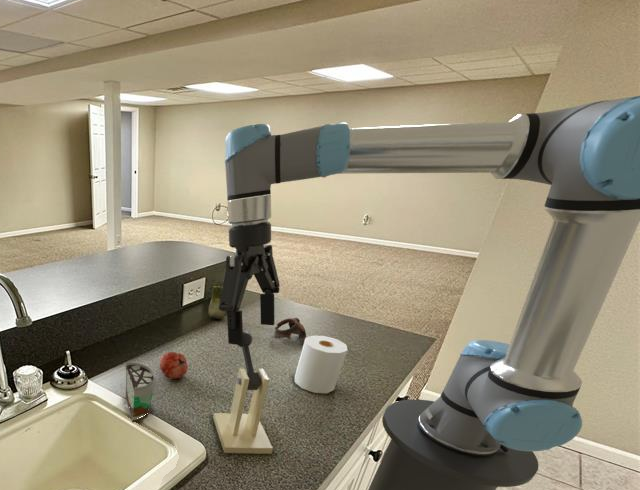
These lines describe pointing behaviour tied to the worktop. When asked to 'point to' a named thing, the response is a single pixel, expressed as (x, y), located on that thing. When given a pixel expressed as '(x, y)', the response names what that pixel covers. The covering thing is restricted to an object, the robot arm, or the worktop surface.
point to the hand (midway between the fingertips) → (252, 333)
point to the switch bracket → (244, 419)
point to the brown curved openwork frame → (290, 329)
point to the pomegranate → (173, 365)
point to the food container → (139, 390)
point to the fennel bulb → (216, 304)
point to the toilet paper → (320, 364)
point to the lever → (249, 362)
